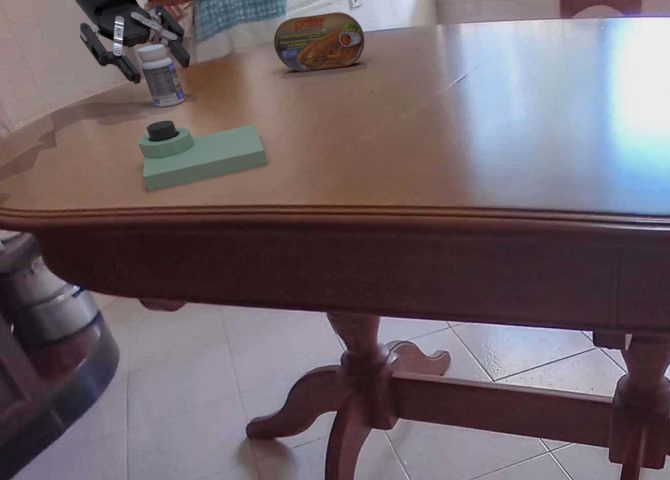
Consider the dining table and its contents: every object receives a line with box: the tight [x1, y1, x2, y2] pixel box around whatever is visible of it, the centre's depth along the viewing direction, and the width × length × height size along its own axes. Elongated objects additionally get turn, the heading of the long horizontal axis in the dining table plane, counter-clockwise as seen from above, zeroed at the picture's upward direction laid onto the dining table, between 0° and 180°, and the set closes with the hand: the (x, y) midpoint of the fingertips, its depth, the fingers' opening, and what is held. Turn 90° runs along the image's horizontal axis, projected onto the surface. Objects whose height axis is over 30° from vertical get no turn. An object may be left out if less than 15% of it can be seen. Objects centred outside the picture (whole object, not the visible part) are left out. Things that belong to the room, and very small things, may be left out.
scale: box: [137, 124, 269, 192], centre depth 87 cm, size 14×12×4 cm
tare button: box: [146, 120, 178, 142], centre depth 87 cm, size 3×3×2 cm
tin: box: [273, 11, 365, 73], centre depth 118 cm, size 15×3×8 cm, turn 92°
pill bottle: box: [137, 44, 186, 108], centre depth 110 cm, size 5×5×8 cm
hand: (163, 72), depth 109 cm, fingers open, 8 cm apart
